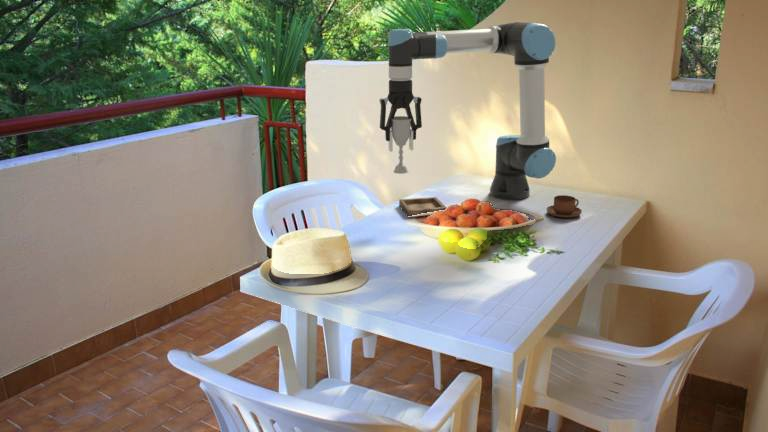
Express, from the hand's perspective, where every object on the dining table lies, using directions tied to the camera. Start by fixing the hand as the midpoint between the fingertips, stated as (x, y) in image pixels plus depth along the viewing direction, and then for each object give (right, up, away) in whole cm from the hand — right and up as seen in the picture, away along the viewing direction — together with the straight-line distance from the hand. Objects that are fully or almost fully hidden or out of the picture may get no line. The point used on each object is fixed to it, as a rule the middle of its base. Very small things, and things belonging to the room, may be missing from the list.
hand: (400, 149), depth 228 cm
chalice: (0, -7, +2) cm, 8 cm away
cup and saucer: (+58, -22, +15) cm, 63 cm away
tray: (+8, -20, +21) cm, 30 cm away
